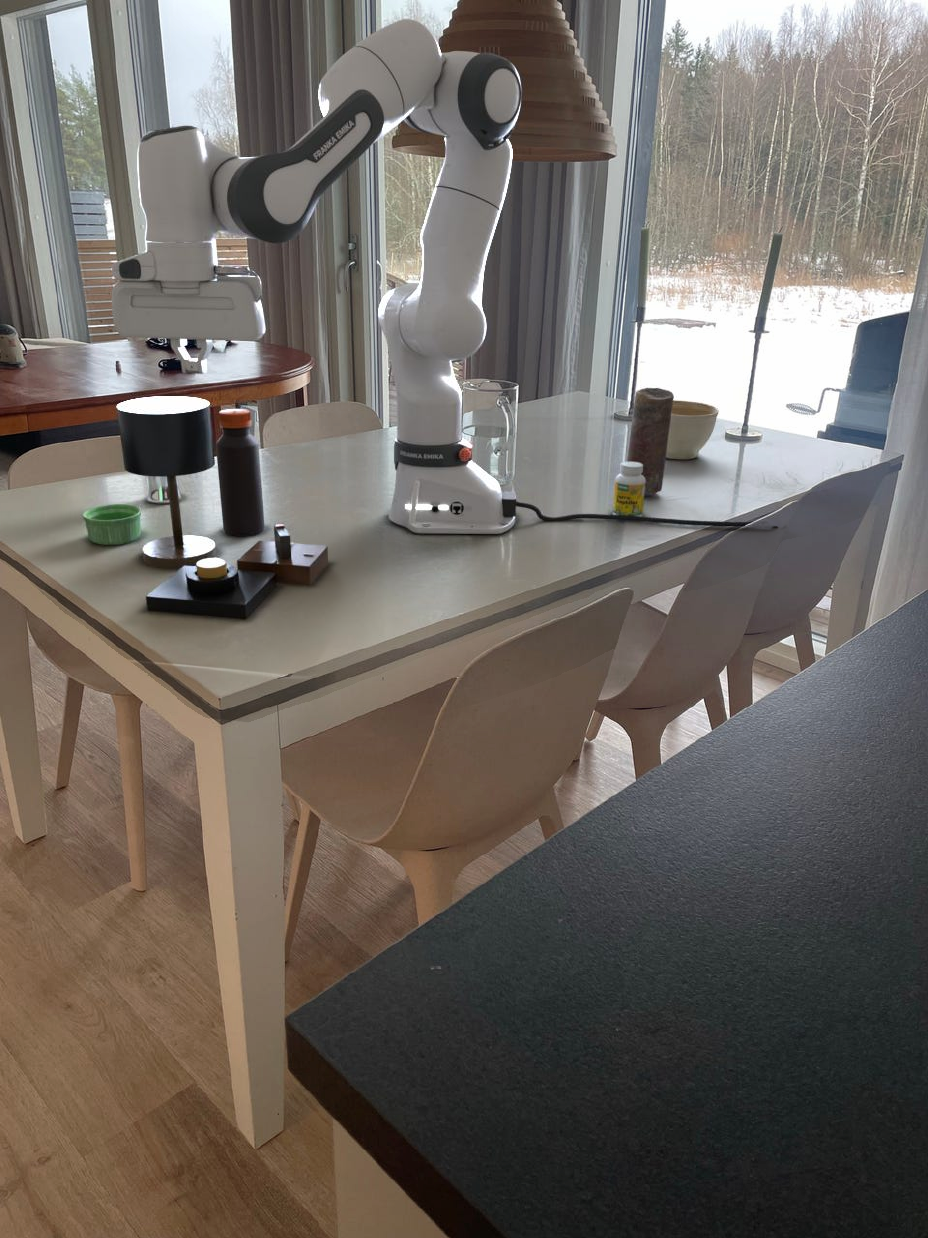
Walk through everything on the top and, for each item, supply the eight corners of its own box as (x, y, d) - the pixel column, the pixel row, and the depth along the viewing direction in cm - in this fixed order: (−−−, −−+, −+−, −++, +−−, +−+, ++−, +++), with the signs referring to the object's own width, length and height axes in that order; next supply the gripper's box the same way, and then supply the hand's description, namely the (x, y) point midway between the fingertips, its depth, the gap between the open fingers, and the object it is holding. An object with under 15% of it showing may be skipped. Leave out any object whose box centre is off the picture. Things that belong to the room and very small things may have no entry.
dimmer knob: (291, 557, 137) (290, 533, 135) (281, 558, 136) (279, 534, 135) (285, 546, 141) (283, 523, 139) (275, 547, 140) (273, 524, 139)
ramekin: (89, 549, 147) (85, 523, 145) (83, 532, 154) (80, 507, 152) (147, 542, 150) (144, 516, 149) (140, 526, 158) (137, 501, 156)
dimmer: (328, 564, 143) (327, 544, 142) (310, 585, 135) (309, 565, 134) (260, 558, 145) (259, 539, 143) (238, 579, 136) (236, 559, 135)
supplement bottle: (643, 513, 171) (649, 461, 167) (640, 521, 166) (645, 469, 162) (614, 510, 172) (619, 459, 168) (609, 518, 167) (614, 466, 163)
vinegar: (270, 532, 156) (262, 413, 148) (231, 539, 153) (220, 417, 145) (256, 521, 161) (247, 405, 153) (218, 527, 158) (207, 409, 150)
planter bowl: (627, 455, 211) (631, 406, 206) (662, 443, 222) (667, 397, 218) (690, 468, 201) (697, 417, 197) (724, 455, 213) (731, 407, 208)
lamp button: (231, 570, 130) (230, 558, 129) (220, 580, 126) (219, 568, 126) (204, 568, 130) (203, 556, 130) (192, 578, 127) (191, 566, 126)
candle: (666, 492, 184) (678, 389, 176) (657, 501, 178) (668, 395, 169) (628, 486, 187) (638, 385, 178) (618, 496, 180) (628, 391, 172)
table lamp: (235, 545, 150) (223, 398, 140) (202, 574, 138) (186, 415, 129) (160, 539, 152) (142, 394, 142) (120, 567, 140) (99, 410, 130)
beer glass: (172, 505, 169) (163, 423, 163) (137, 502, 170) (127, 420, 164) (190, 495, 175) (182, 415, 169) (156, 492, 176) (147, 413, 170)
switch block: (277, 586, 134) (275, 560, 133) (246, 620, 123) (244, 592, 122) (185, 579, 136) (182, 553, 135) (147, 611, 125) (143, 583, 124)
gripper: (267, 265, 123) (275, 371, 129) (122, 262, 126) (136, 366, 132) (250, 268, 117) (259, 379, 123) (99, 265, 120) (115, 374, 126)
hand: (195, 372), depth 127 cm, fingers closed
